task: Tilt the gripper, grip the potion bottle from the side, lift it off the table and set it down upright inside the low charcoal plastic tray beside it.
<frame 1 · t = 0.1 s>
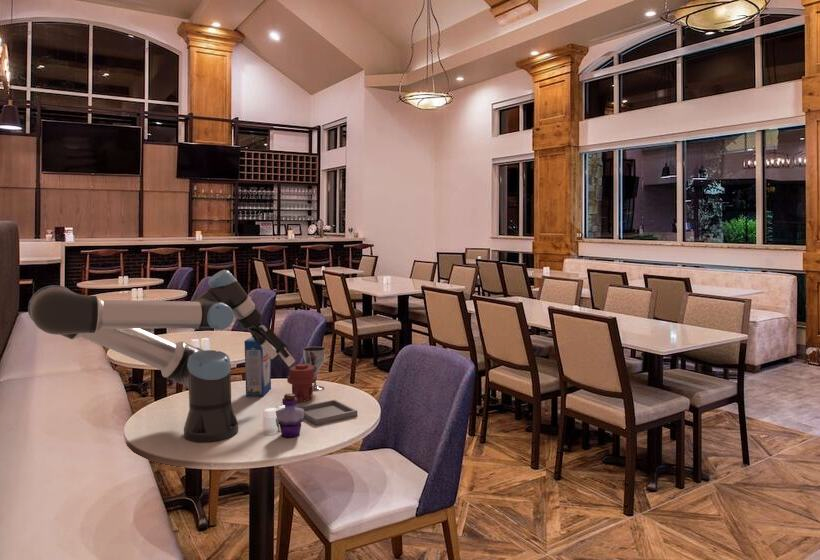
hand: (283, 360, 199), 15 cm above the table, tool tilted 35°, fingers open, 13 cm apart
milk carton: (258, 393, 214), on the table
charcoal tray: (326, 414, 190), on the table
mechanical component: (302, 400, 206), on the table
potion bottle: (290, 435, 172), on the table
wine glass: (315, 388, 219), on the table
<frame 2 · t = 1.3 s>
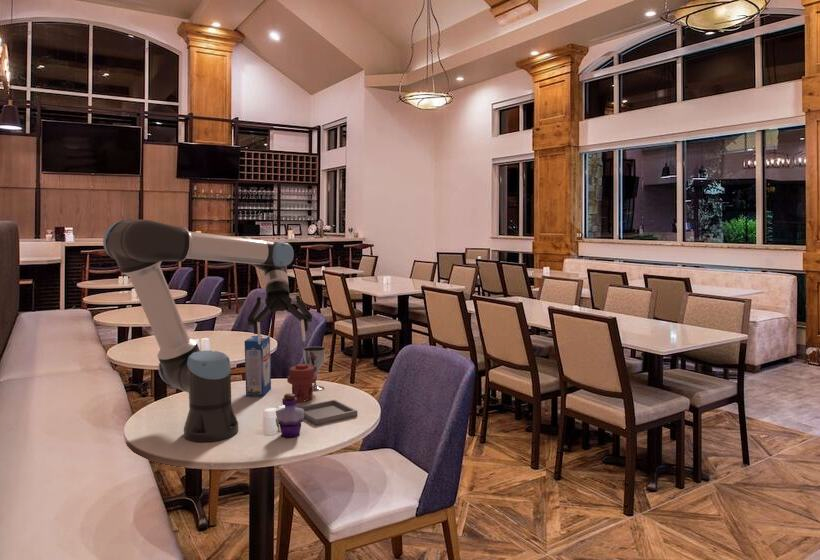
hand: (282, 340, 184), 25 cm above the table, tool tilted 45°, fingers open, 13 cm apart
nothing on the table moved.
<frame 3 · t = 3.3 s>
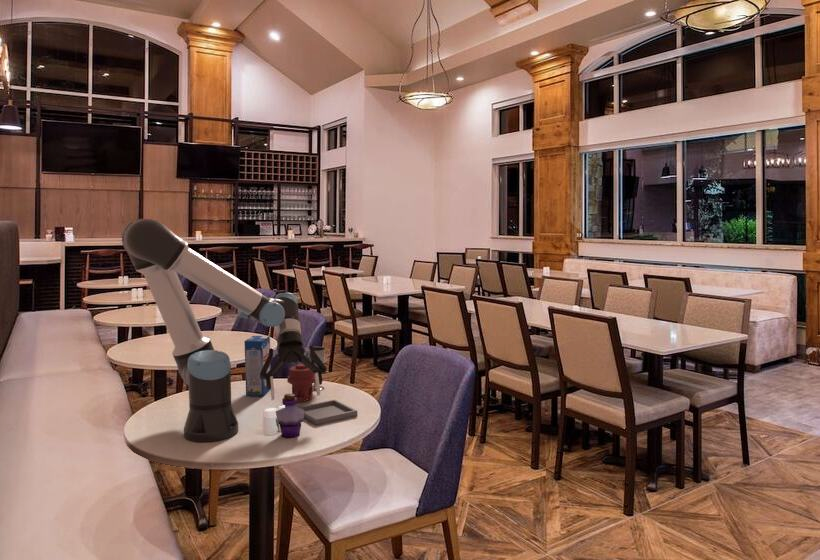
hand: (296, 395, 177), 10 cm above the table, tool tilted 45°, fingers open, 13 cm apart
nothing on the table moved.
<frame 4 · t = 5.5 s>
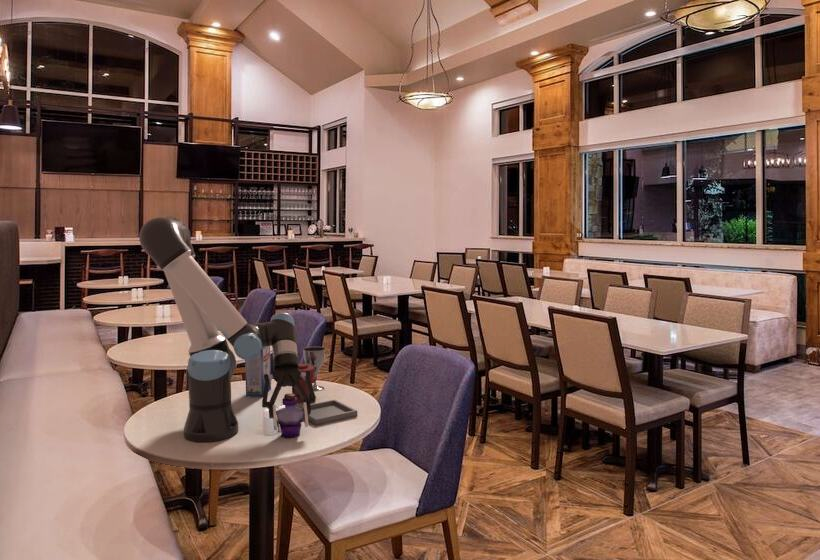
hand: (291, 426, 168), 4 cm above the table, tool tilted 45°, fingers closed on potion bottle, 8 cm apart
potion bottle: (290, 435, 172), on the table, touching gripper
everything else where it was.
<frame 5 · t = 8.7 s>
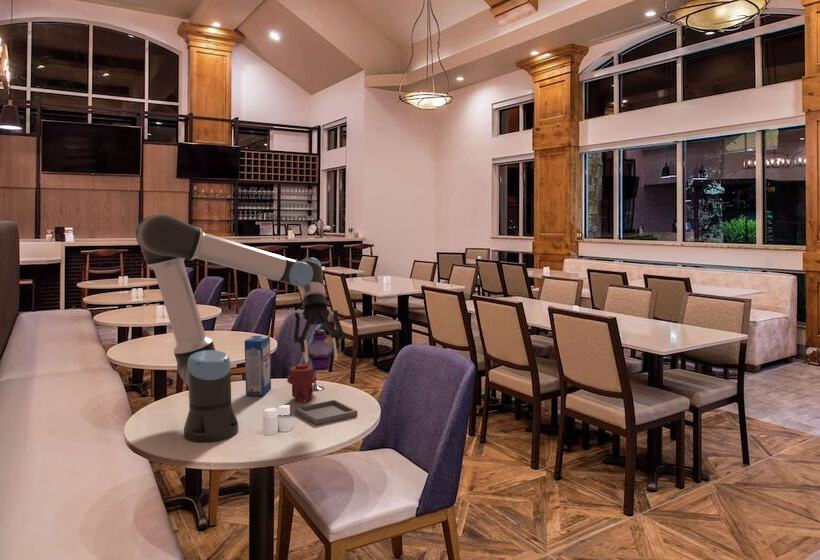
hand: (321, 359, 180), 20 cm above the table, tool tilted 45°, fingers closed on potion bottle, 8 cm apart
potion bottle: (320, 368, 184), point 16 cm above the table, touching gripper
everything else where it was.
when the fingers open (6 cm above the table, at t = 12.0 s): potion bottle drops 1 cm, resting on charcoal tray.
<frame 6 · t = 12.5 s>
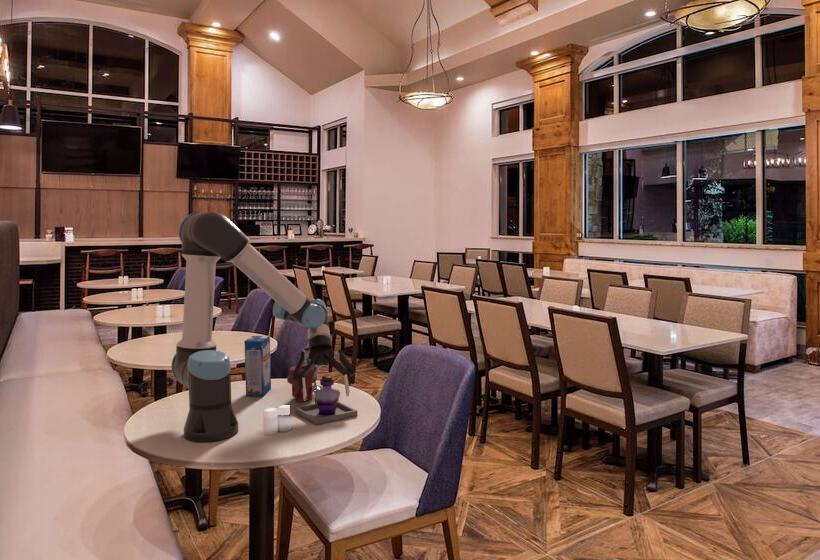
hand: (326, 396, 187), 7 cm above the table, tool tilted 45°, fingers open, 13 cm apart
potion bottle: (327, 413, 190), resting on charcoal tray
everything else where it was.
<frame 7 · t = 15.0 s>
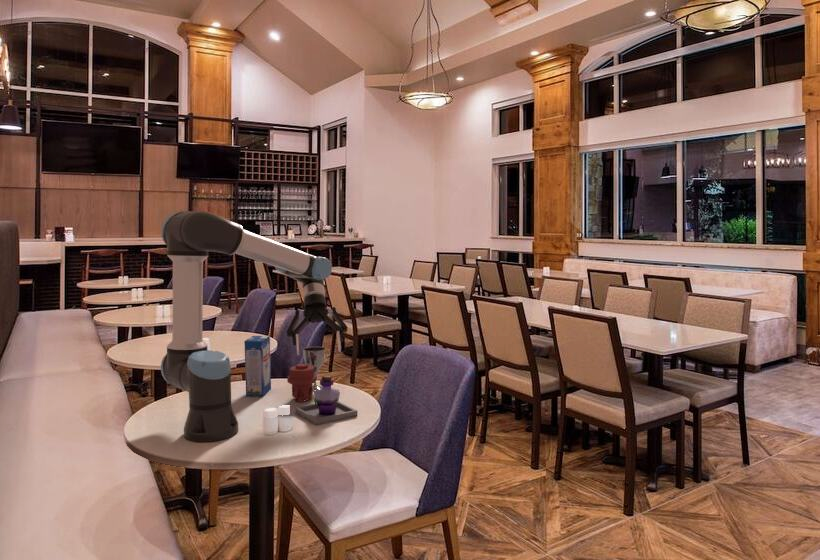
hand: (319, 351, 195), 19 cm above the table, tool tilted 45°, fingers open, 13 cm apart
nothing on the table moved.
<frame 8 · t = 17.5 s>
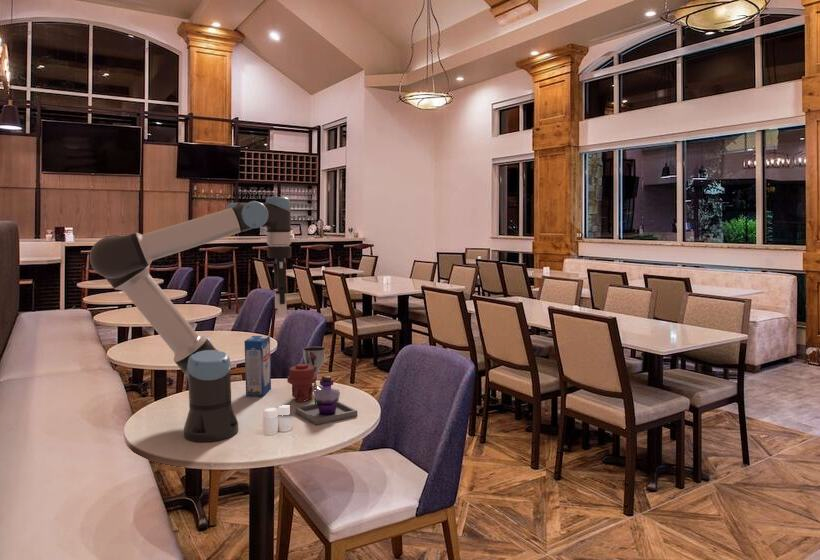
hand: (280, 311, 192), 33 cm above the table, tool pointing down, fingers open, 13 cm apart
nothing on the table moved.
at the end: potion bottle inside the target area on the charcoal tray (0.3 cm from its centre), point 0.3 cm above the charcoal tray's base; potion bottle tilted 0°; the gripper is holding nothing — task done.
